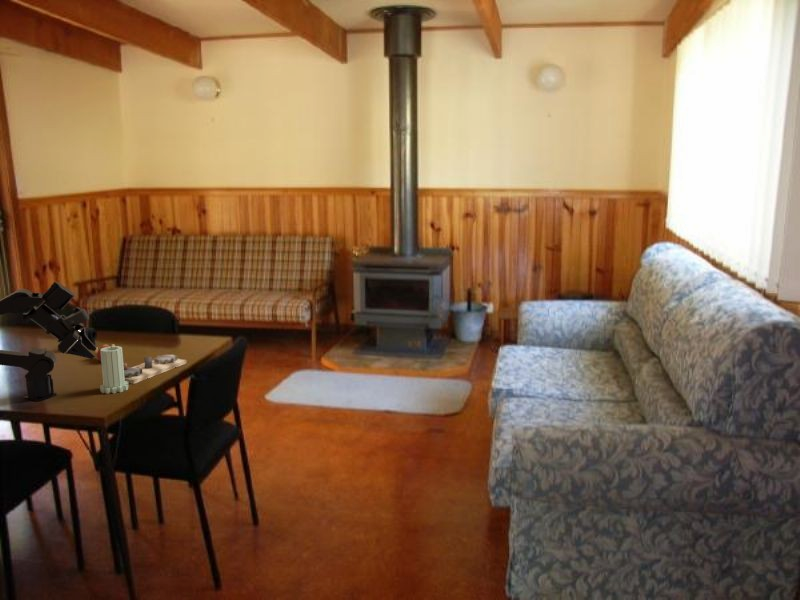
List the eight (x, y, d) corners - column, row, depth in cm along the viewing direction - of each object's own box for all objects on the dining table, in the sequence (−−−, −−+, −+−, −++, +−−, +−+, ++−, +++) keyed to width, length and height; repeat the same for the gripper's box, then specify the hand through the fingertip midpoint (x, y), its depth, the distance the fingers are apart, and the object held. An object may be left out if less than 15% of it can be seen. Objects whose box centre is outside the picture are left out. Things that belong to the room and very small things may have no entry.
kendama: (92, 357, 250) (93, 362, 234) (94, 340, 250) (95, 344, 234) (115, 358, 253) (117, 364, 237) (116, 341, 253) (119, 346, 237)
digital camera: (84, 352, 251) (82, 333, 250) (70, 351, 252) (68, 333, 251) (98, 344, 262) (97, 327, 260) (85, 344, 262) (83, 327, 261)
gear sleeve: (114, 394, 204) (111, 353, 201) (94, 391, 207) (90, 350, 204) (134, 387, 211) (131, 346, 209) (114, 383, 214) (111, 344, 212)
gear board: (134, 383, 214) (132, 369, 213) (107, 379, 218) (106, 365, 217) (186, 363, 237) (185, 350, 236) (162, 359, 241) (161, 347, 240)
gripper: (66, 307, 191) (111, 341, 197) (73, 295, 209) (114, 327, 214) (38, 336, 190) (84, 369, 196) (47, 322, 207) (89, 353, 213)
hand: (94, 353), depth 205 cm, fingers open, 9 cm apart
